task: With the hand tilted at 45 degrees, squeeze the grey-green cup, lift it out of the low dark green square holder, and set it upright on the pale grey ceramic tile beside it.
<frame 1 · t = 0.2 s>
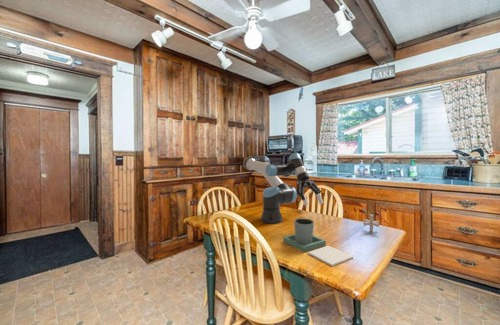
hand: (314, 204, 140), 16 cm above the table, tool tilted 35°, fingers open, 13 cm apart
grey-green cup: (304, 243, 119), resting in square holder
ceramic tile: (330, 255, 104), on the table
square holder: (304, 243, 119), on the table
pipe connector: (371, 231, 136), on the table
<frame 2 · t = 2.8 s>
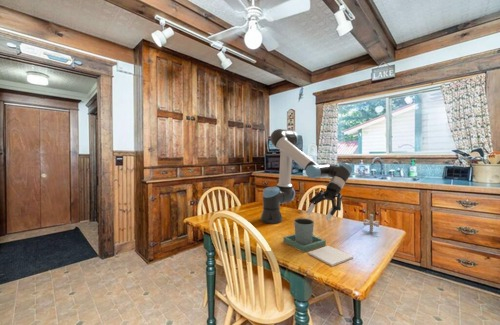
hand: (316, 216, 122), 13 cm above the table, tool tilted 45°, fingers open, 13 cm apart
nothing on the table moved.
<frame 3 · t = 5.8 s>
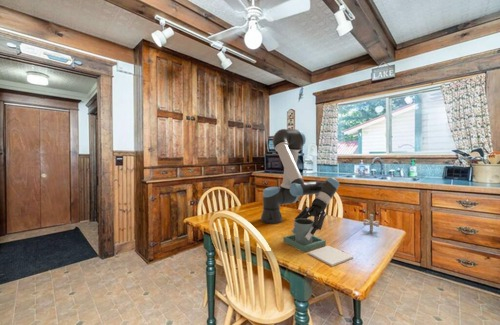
hand: (299, 235, 117), 5 cm above the table, tool tilted 45°, fingers closed on grey-green cup, 10 cm apart
grey-green cup: (304, 243, 119), resting in square holder, touching gripper
everything else where it was.
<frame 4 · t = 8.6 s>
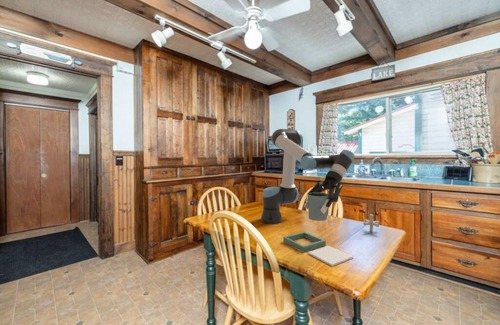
hand: (313, 209, 108), 21 cm above the table, tool tilted 45°, fingers closed on grey-green cup, 10 cm apart
grey-green cup: (318, 218, 110), point 16 cm above the table, touching gripper
everything else where it was.
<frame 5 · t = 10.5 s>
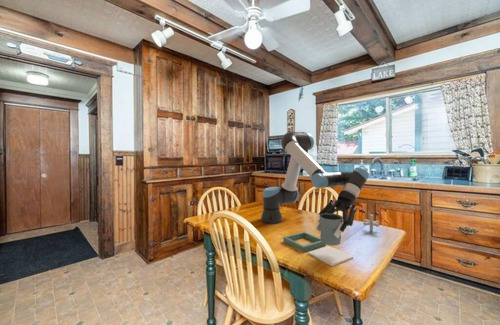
hand: (326, 232, 102), 12 cm above the table, tool tilted 45°, fingers closed on grey-green cup, 10 cm apart
grey-green cup: (330, 242, 104), point 7 cm above the table, touching gripper
everything else where it was.
when the fingers open (7 cm above the table, at t = 11.9 s): grey-green cup drops 1 cm, resting on ceramic tile.
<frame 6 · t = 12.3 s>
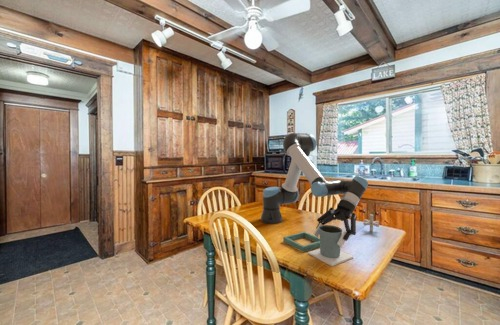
hand: (326, 240, 103), 8 cm above the table, tool tilted 45°, fingers open, 13 cm apart
grey-green cup: (330, 254, 104), point 1 cm above the table, touching ceramic tile
everything else where it was.
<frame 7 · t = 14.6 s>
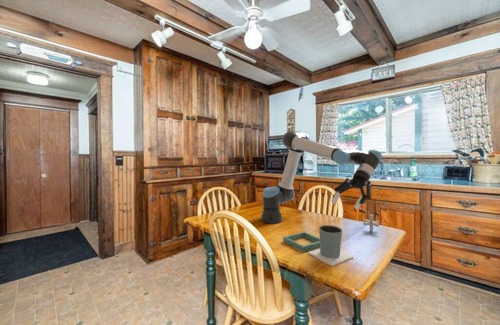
hand: (343, 205, 113), 21 cm above the table, tool tilted 45°, fingers open, 13 cm apart
nothing on the table moved.
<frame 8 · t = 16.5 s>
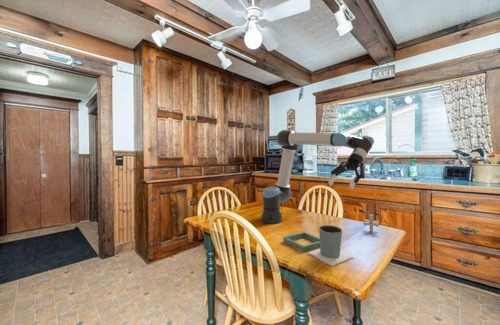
hand: (339, 185, 123), 30 cm above the table, tool tilted 45°, fingers open, 13 cm apart
nothing on the table moved.
at the end: grey-green cup inside the target area on the ceramic tile (0.2 cm from its centre), point 0.6 cm above the ceramic tile's base; grey-green cup tilted 0°; the gripper is holding nothing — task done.
